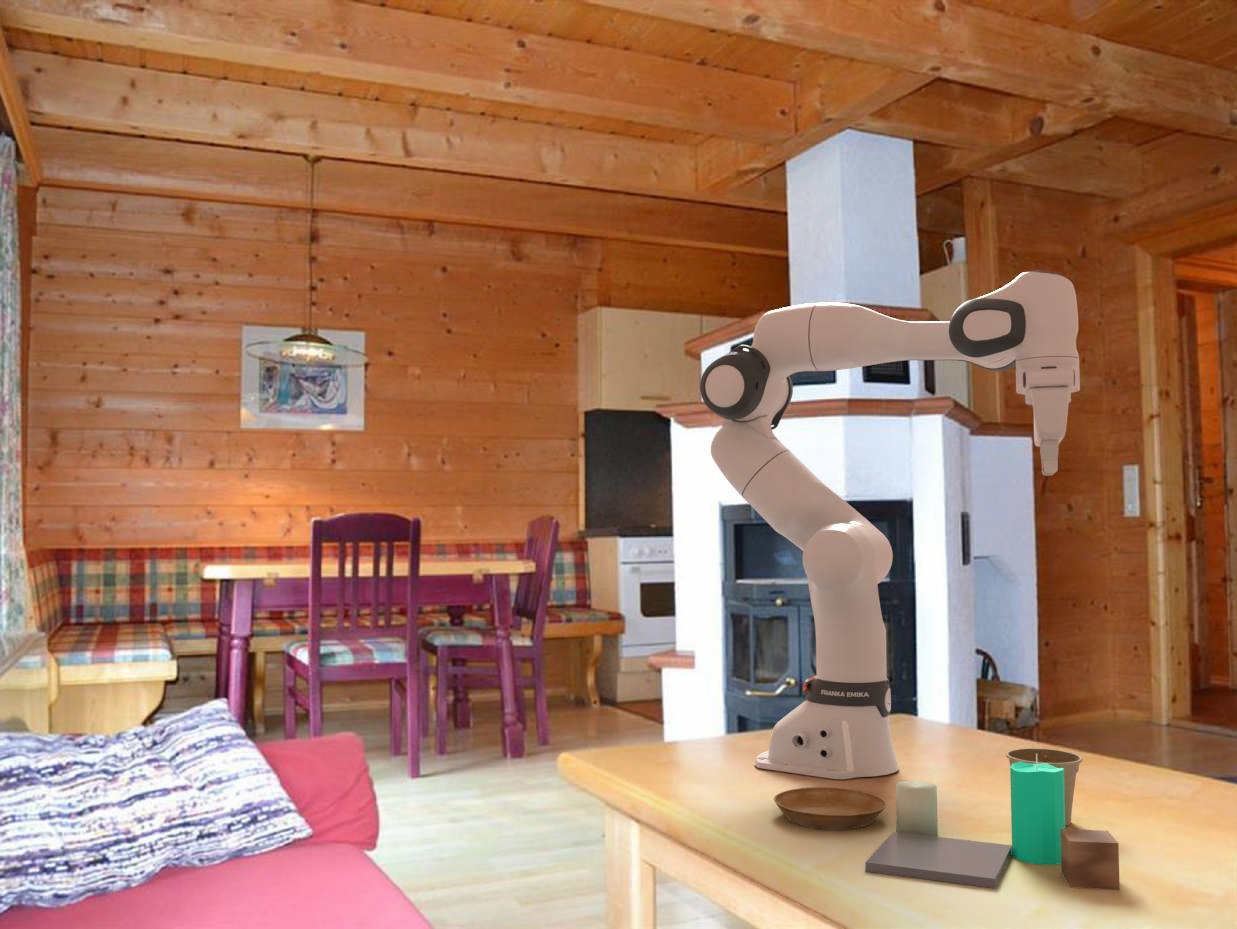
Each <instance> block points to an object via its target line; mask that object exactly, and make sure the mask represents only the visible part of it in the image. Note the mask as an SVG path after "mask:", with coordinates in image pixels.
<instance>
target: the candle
mask: <svg viewBox="0 0 1237 929" xmlns="http://www.w3.org/2000/svg"><path fill="white" fill-rule="evenodd" d="M1009 770H1010V771H1009V772H1010V773H1009V774H1010V775H1009V776H1010V811H1011V812H1010V818H1011V819H1010V820H1011V821H1010V822H1011V825H1010V826H1011V845H1012V855H1011V857H1013V858H1014V859H1016V860H1017V861H1020V862H1024V863H1027V864H1031V865H1032V864H1033V865H1041V866H1047V865H1048V866H1053V865H1061V830H1060V829H1066V826H1065V793H1064V768H1056V767H1054V766H1052V765H1050V764H1047V763H1042V764H1038V763H1037V754H1036V764H1029V763H1024V762H1018V763H1014V764H1012V765H1011V767H1009Z"/></svg>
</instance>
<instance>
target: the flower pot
mask: <svg viewBox="0 0 1237 929" xmlns="http://www.w3.org/2000/svg"><path fill="white" fill-rule="evenodd" d="M1036 754H1037V763H1038V764H1042V763H1047V764H1050V765H1052V766H1054V767H1056V768H1064V793H1065V827H1066V826H1069V825H1070V824H1071V822H1072V811H1073V804H1074V802H1073V801H1074V795H1075V794H1074V793H1075V786H1076V784H1075V783H1076V779H1077V773H1078V772H1079V771H1080V770H1079V768H1080V764H1081V763H1082V762H1083V757H1082V755H1080V754H1077V753H1074V752H1072V751H1067V750H1066V751H1065V750H1061V749H1053V748H1041V747H1040V748H1039V747H1025V748H1023V747H1022V748H1015V749H1010V750H1008V751H1006V752H1005V757H1006V758H1007V759H1008V761H1009V766H1010V767H1011V765H1012V764H1014V763H1018V762H1024V763H1029V764H1036ZM1010 767H1009V768H1010Z"/></svg>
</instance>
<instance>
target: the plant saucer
mask: <svg viewBox="0 0 1237 929" xmlns="http://www.w3.org/2000/svg"><path fill="white" fill-rule="evenodd" d="M773 801H774V803H775V805H776V806H777V807H778V809H779V810H780V811H781V813H783V814H784V815H785V816H786V817H787V819H789V820H790V821H791V822H793V823H795V824H798V825H801V826H805V827H808V828H809V827H810V828H815V829H823V830H825V829H826V830H846V829H847V830H848V829H856V828H862V827H866V826H868V825H869V824H871V823H872V822H874V820H876V819H877V817H879V816H880V815H881V813H882V812H883V811H884V810H885V808H886V807H887V802H886V800H885V799H884V798H883V797H881V796H878V795H876V794H873V793H871V792H867V791H862V790H858V789H851V788H843V787H829V786H828V787H825V786H824V787H823V786H820V787H819V786H818V787H817V786H811V787H800V788H794V789H788V790H784V791H782V792H779V793H778V794H776V795H774V797H773Z"/></svg>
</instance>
